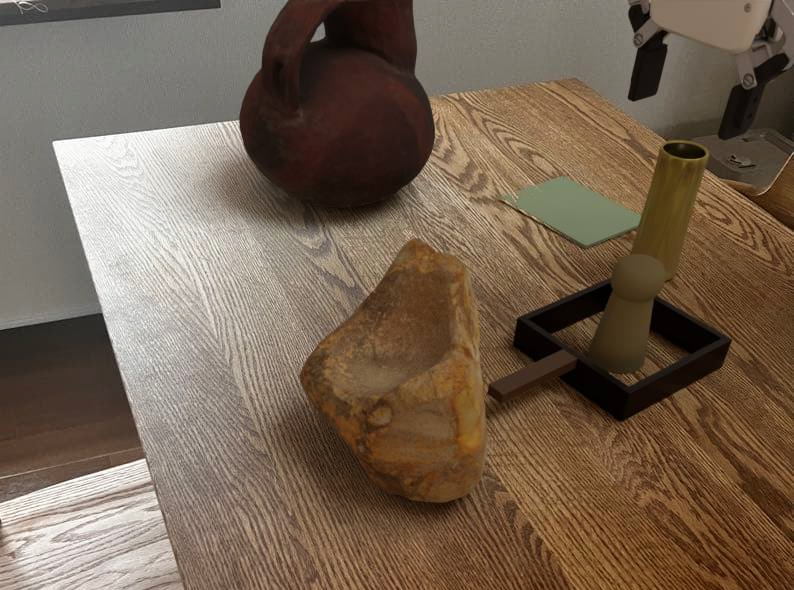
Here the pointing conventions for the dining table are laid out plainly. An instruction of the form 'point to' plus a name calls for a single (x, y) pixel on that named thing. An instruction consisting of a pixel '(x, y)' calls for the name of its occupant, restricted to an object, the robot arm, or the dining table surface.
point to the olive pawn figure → (627, 314)
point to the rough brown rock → (408, 379)
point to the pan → (592, 379)
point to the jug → (339, 103)
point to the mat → (576, 211)
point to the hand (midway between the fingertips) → (685, 116)
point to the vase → (670, 203)
